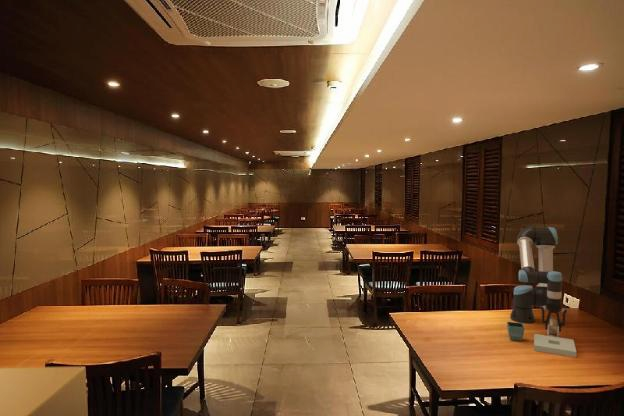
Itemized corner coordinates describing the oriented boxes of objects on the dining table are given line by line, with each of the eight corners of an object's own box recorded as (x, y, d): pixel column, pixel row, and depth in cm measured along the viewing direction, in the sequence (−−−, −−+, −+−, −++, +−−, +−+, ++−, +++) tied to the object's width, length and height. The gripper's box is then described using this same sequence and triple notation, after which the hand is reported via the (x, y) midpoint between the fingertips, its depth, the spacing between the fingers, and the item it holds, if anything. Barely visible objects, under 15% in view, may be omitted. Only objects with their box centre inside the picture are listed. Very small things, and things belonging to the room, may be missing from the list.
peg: (548, 338, 248) (549, 319, 248) (548, 336, 252) (549, 317, 251) (557, 340, 246) (557, 320, 245) (556, 337, 250) (557, 318, 249)
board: (534, 350, 231) (534, 345, 231) (534, 338, 249) (534, 333, 248) (576, 357, 222) (576, 352, 221) (573, 344, 239) (573, 339, 239)
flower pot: (522, 337, 251) (522, 323, 250) (524, 342, 242) (524, 327, 242) (506, 335, 254) (506, 321, 253) (508, 340, 245) (508, 326, 245)
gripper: (537, 297, 249) (536, 335, 250) (571, 301, 240) (570, 340, 242) (537, 294, 255) (536, 331, 256) (570, 297, 247) (569, 336, 248)
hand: (552, 335), depth 249 cm, fingers closed on peg, 4 cm apart
